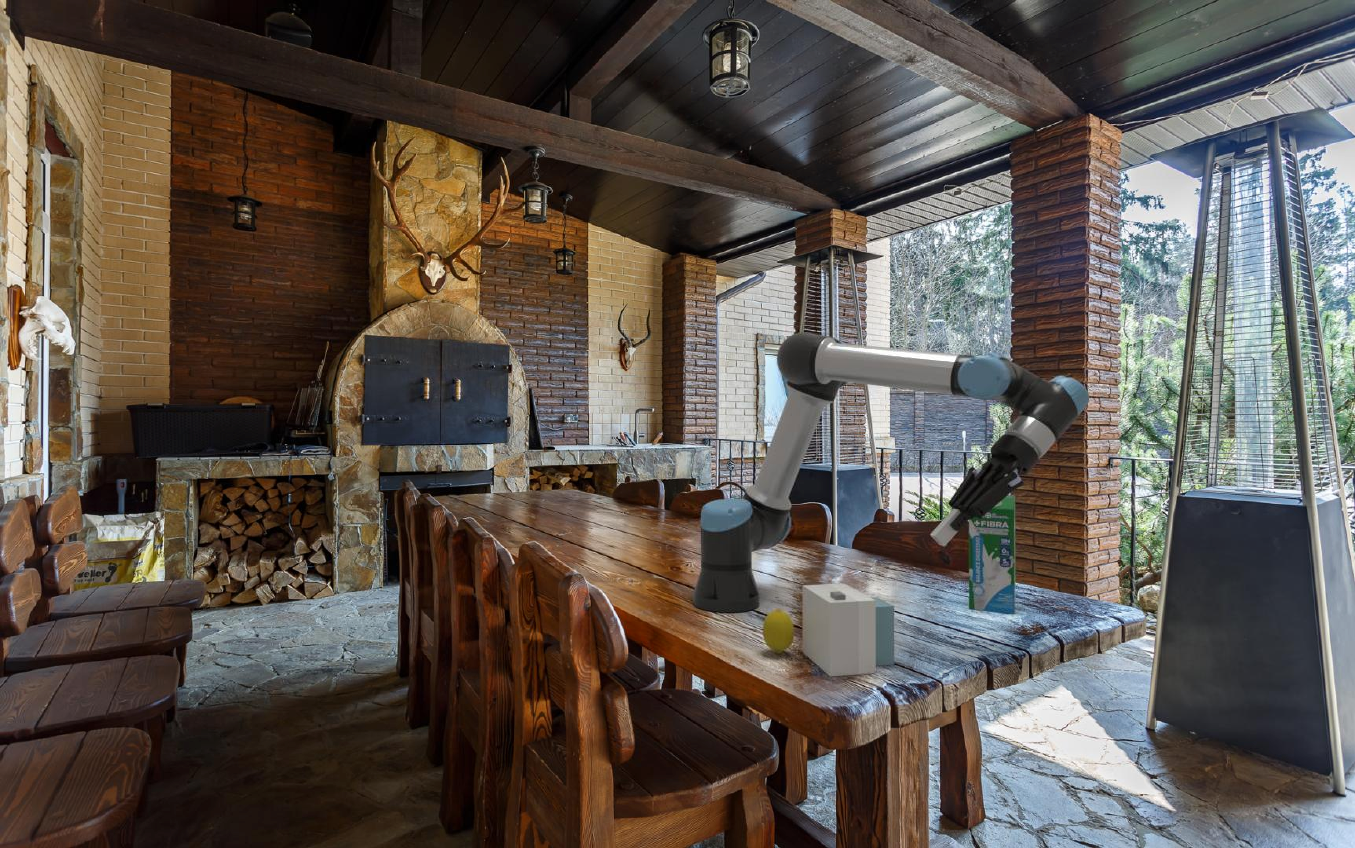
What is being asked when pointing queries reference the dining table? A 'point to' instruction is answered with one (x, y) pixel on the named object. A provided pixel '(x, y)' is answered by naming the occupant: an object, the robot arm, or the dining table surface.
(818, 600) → the socket
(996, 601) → the milk carton
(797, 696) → the dining table surface
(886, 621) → the plug
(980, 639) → the dining table surface
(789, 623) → the lemon
